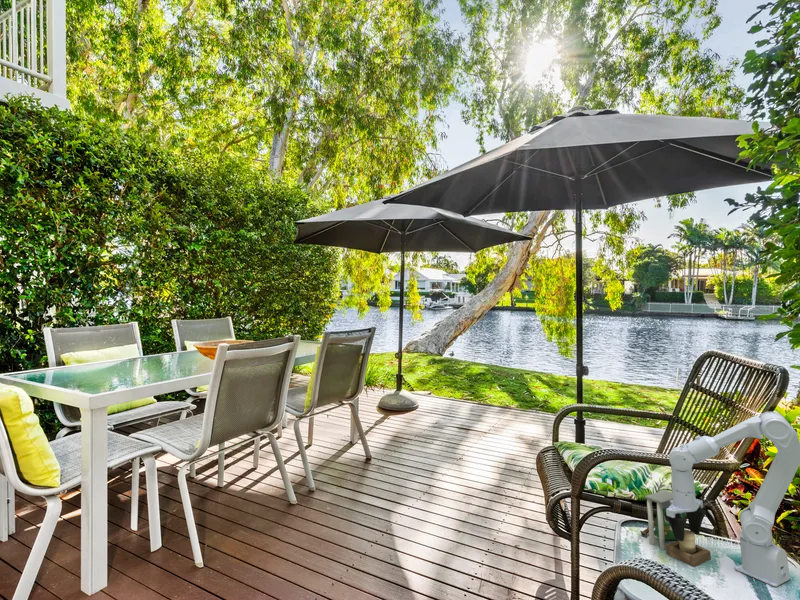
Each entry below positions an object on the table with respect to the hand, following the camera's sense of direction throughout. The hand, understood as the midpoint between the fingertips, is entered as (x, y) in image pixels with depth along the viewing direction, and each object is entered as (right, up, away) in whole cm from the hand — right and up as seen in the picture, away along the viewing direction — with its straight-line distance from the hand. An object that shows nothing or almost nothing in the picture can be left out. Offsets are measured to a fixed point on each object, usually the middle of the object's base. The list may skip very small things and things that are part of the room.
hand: (687, 536), depth 127 cm
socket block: (0, -6, 0) cm, 6 cm away
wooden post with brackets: (-3, -7, +14) cm, 16 cm away
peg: (0, -6, 0) cm, 6 cm away
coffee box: (+1, -6, +10) cm, 12 cm away
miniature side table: (-1, -6, +8) cm, 10 cm away
